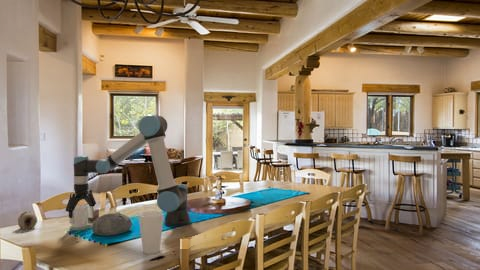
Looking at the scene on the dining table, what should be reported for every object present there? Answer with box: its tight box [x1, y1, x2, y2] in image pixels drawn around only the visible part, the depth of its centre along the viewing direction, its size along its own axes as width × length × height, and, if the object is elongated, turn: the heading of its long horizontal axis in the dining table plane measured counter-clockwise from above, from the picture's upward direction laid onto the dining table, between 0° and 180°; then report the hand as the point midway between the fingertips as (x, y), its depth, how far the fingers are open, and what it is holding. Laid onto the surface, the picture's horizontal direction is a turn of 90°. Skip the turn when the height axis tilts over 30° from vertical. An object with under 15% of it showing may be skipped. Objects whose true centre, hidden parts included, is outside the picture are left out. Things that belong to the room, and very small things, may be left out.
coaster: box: [69, 223, 93, 231], centre depth 199 cm, size 12×12×1 cm
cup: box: [138, 210, 165, 255], centre depth 159 cm, size 11×10×17 cm
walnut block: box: [88, 208, 100, 221], centre depth 215 cm, size 6×6×6 cm
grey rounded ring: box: [17, 211, 38, 231], centre depth 197 cm, size 9×8×10 cm
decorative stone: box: [91, 211, 133, 236], centre depth 189 cm, size 18×21×10 cm
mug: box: [70, 205, 89, 228], centre depth 199 cm, size 9×12×11 cm
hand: (81, 220), depth 199 cm, fingers open, 13 cm apart
